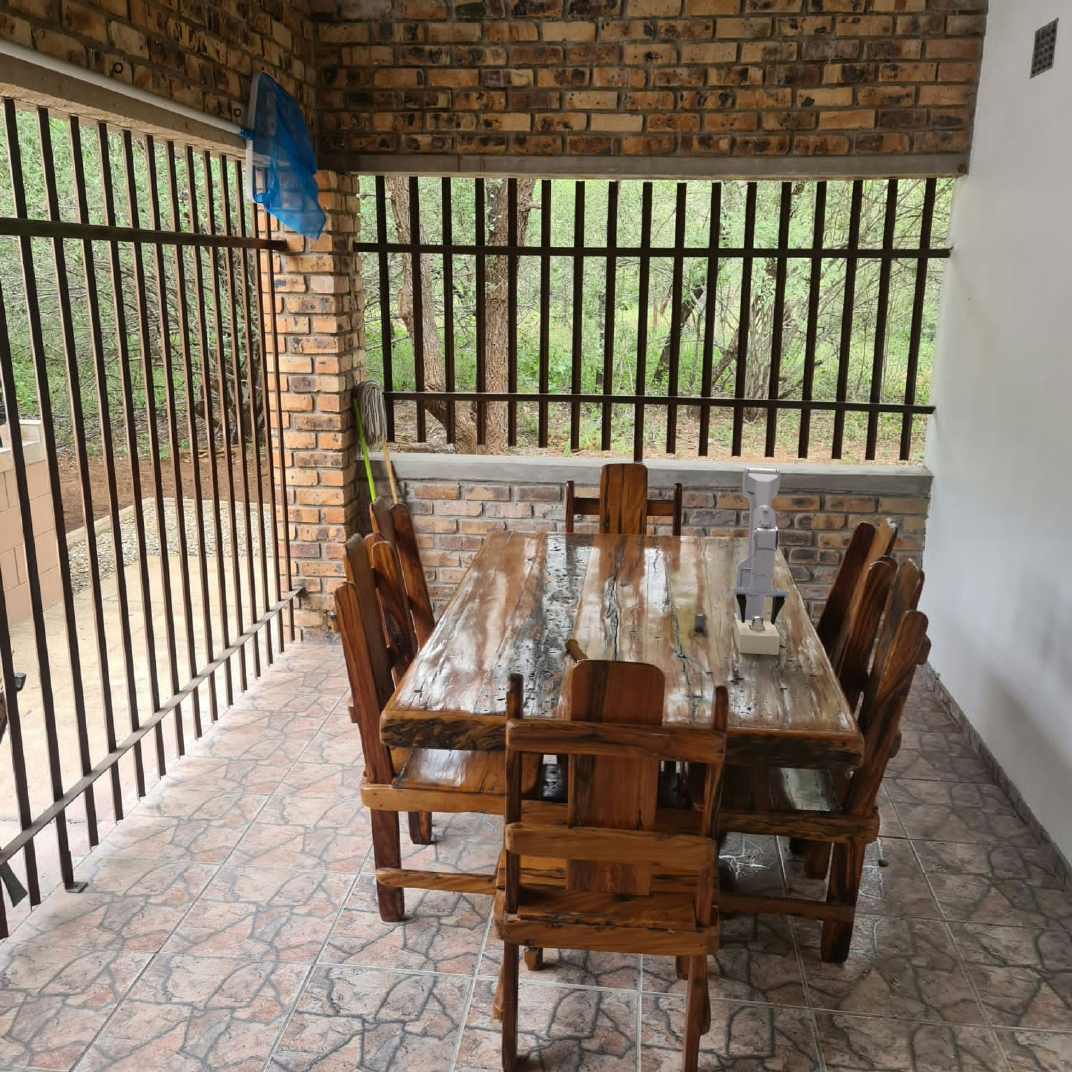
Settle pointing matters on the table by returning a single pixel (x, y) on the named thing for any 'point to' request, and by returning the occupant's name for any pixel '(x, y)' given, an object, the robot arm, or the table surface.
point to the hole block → (756, 638)
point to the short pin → (699, 622)
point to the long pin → (757, 623)
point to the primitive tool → (575, 649)
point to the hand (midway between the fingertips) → (757, 622)
